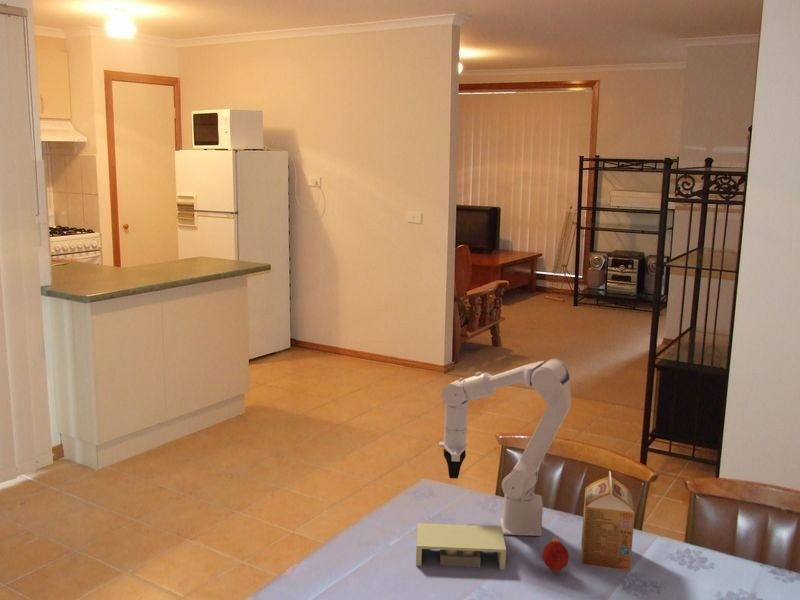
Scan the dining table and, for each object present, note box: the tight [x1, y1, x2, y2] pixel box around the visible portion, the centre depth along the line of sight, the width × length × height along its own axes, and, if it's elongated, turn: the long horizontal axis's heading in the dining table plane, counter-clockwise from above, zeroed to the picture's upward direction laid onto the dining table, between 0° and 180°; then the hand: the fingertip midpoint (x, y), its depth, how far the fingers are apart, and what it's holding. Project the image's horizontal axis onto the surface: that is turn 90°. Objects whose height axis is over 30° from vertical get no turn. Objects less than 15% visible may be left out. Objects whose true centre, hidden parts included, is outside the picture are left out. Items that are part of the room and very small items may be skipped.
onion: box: [541, 537, 570, 573], centre depth 171 cm, size 6×6×8 cm
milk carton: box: [581, 470, 636, 571], centre depth 177 cm, size 10×11×19 cm
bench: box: [415, 522, 507, 570], centre depth 177 cm, size 20×11×5 cm, turn 88°
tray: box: [439, 549, 481, 568], centre depth 178 cm, size 9×11×3 cm
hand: (453, 477), depth 198 cm, fingers closed
